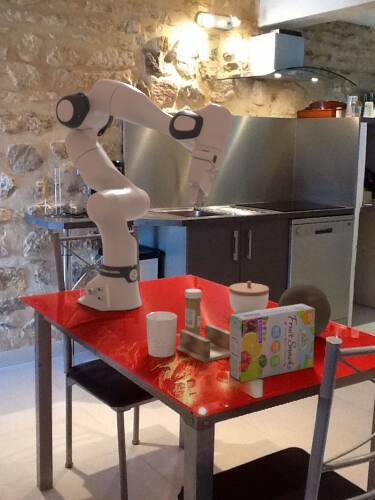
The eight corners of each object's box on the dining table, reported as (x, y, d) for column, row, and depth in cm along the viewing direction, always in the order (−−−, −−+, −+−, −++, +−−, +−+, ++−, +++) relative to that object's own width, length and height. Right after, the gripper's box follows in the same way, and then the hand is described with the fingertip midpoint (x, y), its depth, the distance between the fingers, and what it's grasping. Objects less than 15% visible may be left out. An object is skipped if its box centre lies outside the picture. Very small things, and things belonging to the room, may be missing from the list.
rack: (176, 349, 153) (177, 330, 152) (209, 341, 159) (209, 322, 158) (204, 362, 143) (205, 342, 142) (238, 353, 150) (238, 334, 149)
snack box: (299, 360, 146) (301, 302, 143) (313, 367, 141) (316, 308, 138) (227, 375, 136) (229, 313, 133) (240, 383, 131) (242, 319, 128)
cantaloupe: (310, 326, 173) (313, 277, 170) (339, 341, 160) (342, 288, 157) (269, 331, 168) (270, 281, 165) (295, 347, 155) (297, 293, 152)
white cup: (149, 359, 145) (149, 321, 143) (143, 349, 152) (143, 312, 151) (180, 357, 147) (180, 319, 145) (172, 346, 154) (172, 310, 153)
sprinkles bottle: (203, 337, 162) (204, 290, 160) (190, 340, 160) (190, 292, 157) (194, 333, 166) (195, 287, 164) (181, 335, 164) (181, 289, 161)
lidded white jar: (250, 307, 193) (251, 275, 191) (276, 317, 183) (277, 282, 181) (220, 313, 186) (221, 279, 184) (245, 323, 176) (246, 288, 174)
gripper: (201, 165, 179) (189, 208, 179) (190, 148, 159) (177, 196, 158) (221, 170, 178) (209, 213, 177) (212, 153, 158) (199, 202, 157)
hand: (194, 205), depth 168 cm, fingers open, 8 cm apart
